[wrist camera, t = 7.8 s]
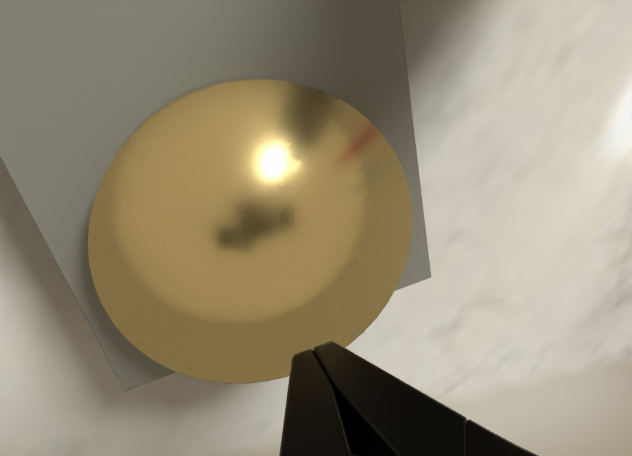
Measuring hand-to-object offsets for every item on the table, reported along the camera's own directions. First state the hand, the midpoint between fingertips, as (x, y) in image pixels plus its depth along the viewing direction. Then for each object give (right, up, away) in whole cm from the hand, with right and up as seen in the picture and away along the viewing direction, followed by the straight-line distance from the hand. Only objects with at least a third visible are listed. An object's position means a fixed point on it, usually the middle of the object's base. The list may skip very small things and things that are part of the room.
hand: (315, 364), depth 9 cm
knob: (-3, +4, +9) cm, 10 cm away
